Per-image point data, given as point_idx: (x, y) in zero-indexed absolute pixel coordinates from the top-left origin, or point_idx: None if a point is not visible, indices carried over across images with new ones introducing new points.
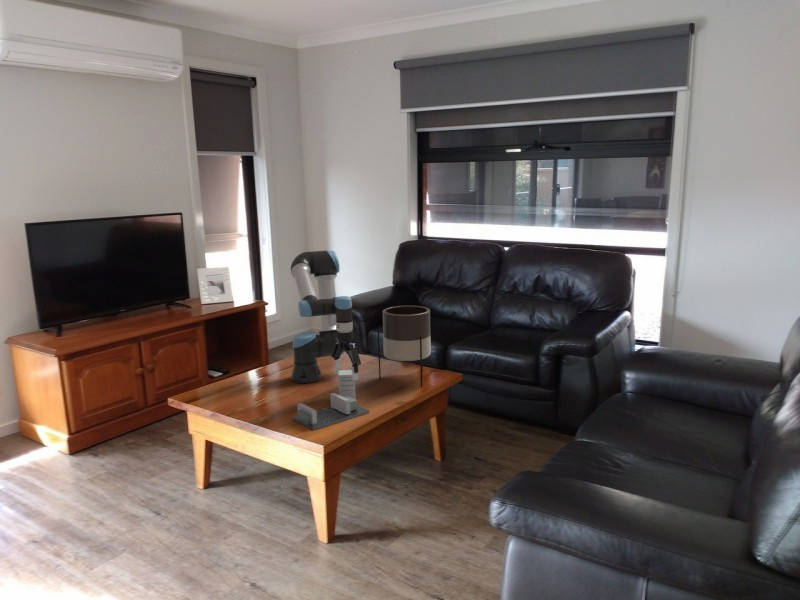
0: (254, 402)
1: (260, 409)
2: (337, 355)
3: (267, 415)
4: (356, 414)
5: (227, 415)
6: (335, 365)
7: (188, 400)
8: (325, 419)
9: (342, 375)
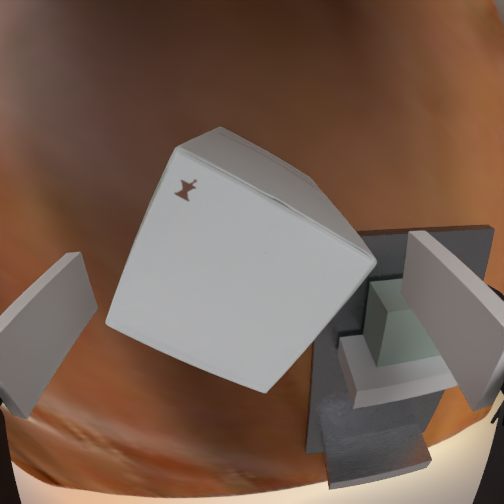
0: (95, 449)
1: (160, 465)
2: (7, 475)
3: (220, 471)
4: None
5: (164, 496)
6: (50, 366)
7: (48, 479)
8: (412, 399)
9: (290, 365)
